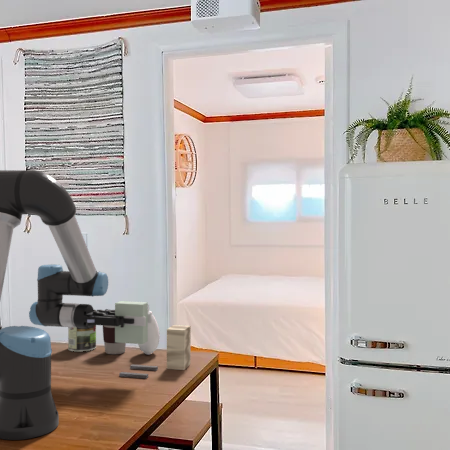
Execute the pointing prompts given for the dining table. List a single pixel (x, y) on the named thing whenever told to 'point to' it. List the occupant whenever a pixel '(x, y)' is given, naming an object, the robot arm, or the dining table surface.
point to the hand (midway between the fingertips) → (148, 319)
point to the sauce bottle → (151, 336)
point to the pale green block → (130, 331)
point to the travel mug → (112, 341)
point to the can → (82, 339)
